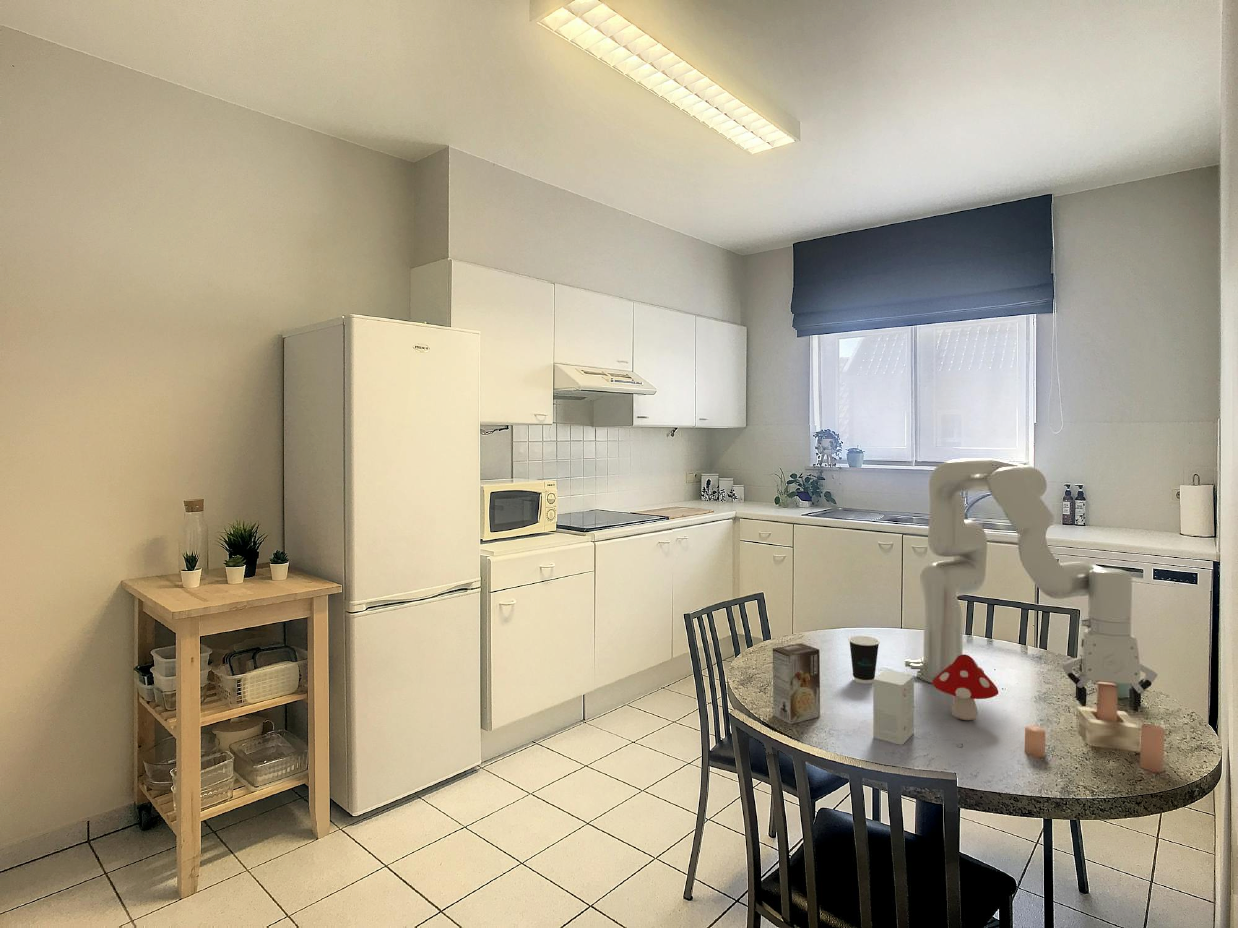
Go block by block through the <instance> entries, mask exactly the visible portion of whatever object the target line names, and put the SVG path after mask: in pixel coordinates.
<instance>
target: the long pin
mask: <svg viewBox="0 0 1238 928" xmlns="http://www.w3.org/2000/svg"><path fill="white" fill-rule="evenodd" d="M1117 696H1118V686H1117V685H1116V684H1114V683H1108V682H1097V685H1096V709H1097V715H1096V719H1097V720H1103V721H1113V722H1117V711H1118V698H1117Z"/></svg>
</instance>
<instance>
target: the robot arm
mask: <svg viewBox="0 0 1238 928" xmlns="http://www.w3.org/2000/svg"><path fill="white" fill-rule="evenodd" d="M928 482H929V483H928V489H929V490H928V492H929V513H928V514H929V516H928V536H927V537H928V538H927V542H928V543H927V544H928V549H929V551H930V552H931V553H932V554H933V555H935V556H937V557H942V558H949V557H951V558H953V559H952V560H951V559H949V560H942V561H941V560H939V561H934V562H932V563H929V564H928V565H926V566H925V567H924V568H922V571H921V572H920V576H919V577H920V578H919V583H920V584H919V585H920V589H921V592H922V600H923V602H922V603H923V656H921V659H917V660H913V659H904V667H907V668H910V670H916V674H917V677H918V678H919V679H920V680H922V681H924V682H927V683H929V684H932V681H933V679H934V678H935V677H936V676H937V675H938V674H939V673H941V672H942V671H943V670H944V669H946V668H947V667H948V666H949V665H950V664H951V661H952V660H953V659H954V658H955V657H958V656H960V655H963V643H964V641H963V640H964V637H963V635H964V633H963V632H964V631H963V629H964V616H963V609H962V607H961V605H960V603H959V599H958V597H960V596H966V595H971V594H975V593H978V592H979V591H980V590H981V589H982V588H983V586H984V583H985V580H986V572H987V554H988V553H987V552H988V537H987V535H986V532H985V530H984V528H983V527H982V525H980V524H979V523H978V522H976V521H974V520H971V519H965V517H966V516H965V515H966V505H965V502H964V498H963V496H962V495H961V494H962V493H968V492H987V491H988V492H989V493H990V495H991V496H992V498H993V500H995V501H994V502H996V503H997V505H998V506H999V508H1000V509H1001V511H1002V512H1003V514H1004V516H1005V517H1006V518H1007V520H1008V522H1010V524H1011V526H1012V527H1013V528H1014V531H1015V532H1016V534H1017V548H1018V549H1017V550H1018V555H1019V558H1020V562H1021V564H1022V566H1023V568H1024V570H1025V572H1026V573H1027V575H1028V576H1029V577H1030V579H1031V581H1032V582H1033V583H1034V585H1035V586H1036V587H1037V588H1038V589H1039V591H1041V592H1042V593H1043V594H1044V595H1045V596H1047V597H1049V598H1051V599H1054V600H1062V599H1071V598H1076V597H1077V598H1078V597H1085V596H1086V597H1087V601H1088V602H1087V615H1086V618H1085V619H1080V620H1079V625H1080V626H1081V627H1084V628H1087V629H1084V631H1083V633H1082V638H1081V643H1080V647H1079V648H1080V649H1079V655H1078V657H1074V658H1071V659H1070V660H1067V661H1064V662H1062V663H1061V664H1060V666H1061V668H1062V669H1063V671H1064V672H1065V675H1066V676H1067V677H1068V679H1070V681H1071V682H1073V683H1074V684H1075V701H1078V703H1079V705H1080V706H1081V707H1086V706H1087V688H1086V687H1085V685H1087V684H1088V683H1089V682H1090V681H1093V682H1096V681H1098V682H1108V683H1119V684H1130V685H1131V686H1132V688H1130V689H1129V696H1128V707H1129V708H1130V709H1131V710H1132V711H1133V712H1134V713H1138V712H1139V708H1141V705H1142V694H1144V691H1145V690H1147V689H1148V688H1150V687H1151V686H1152V683H1153V682H1154V681H1155V680H1156V679H1157V677H1158V673H1157V672H1156V671H1154V670H1153V669H1150V668H1148V667H1147V666H1145V665H1144V664H1142V663H1140V654H1139V647H1138V641H1137V638H1136V636H1135V634H1132V604H1133V602H1132V599H1133V595H1132V594H1133V590H1132V589H1133V577H1132V575H1131V574H1130V572H1128V571H1127V570H1123V569H1120V568H1112V567H1103V566H1099V565H1096V564H1092V563H1090V562H1085V561H1072V562H1061V563H1060V562H1058V559H1056V557H1055V556H1054V554H1053V553H1052V550H1050V547H1049V545H1048V542H1047V537H1046V536H1047V531H1048V529H1049V528H1050V527H1051V526H1052V525H1053V523H1054V522H1055V521H1054V520H1055V516H1054V514H1053V513H1052V511H1051V510H1050V509H1049V507H1048V506H1047V504H1046V503H1045V502H1044V501H1043V499H1042V498H1041V497H1042V496H1043V495H1045V493H1046V491H1047V486H1048V485H1047V484H1048V483H1047V480H1046V477H1045V475H1044V474H1043V473H1042V472H1041V471H1040V470H1039V469H1037V468H1035V467H1033V466H1031V465H1025V464H1020V463H1015V462H1009V461H1005V460H1001V459H995V458H958V459H951V460H947V461H945V462H943V463H940V464H938V465H937V466H936V467H935V468H934V469H933V471H932V473H931V475H930V477H929V481H928ZM1075 667H1078V670H1079V672H1080V673H1078V674H1077V675H1075V674H1074V672H1073V670H1072V669H1073V668H1075ZM1141 672H1142V673H1144V674H1145V676H1144V678H1142V679H1141Z"/></svg>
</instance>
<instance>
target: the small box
mask: <svg viewBox="0 0 1238 928" xmlns="http://www.w3.org/2000/svg"><path fill="white" fill-rule="evenodd" d="M872 685H873V686H872V687H873V688H872V690H873V693H872V694H873V695H872V699H873V705H872V706H873V707H872V708H873V713H872V714H873V715H872V716H873V717H872V718H873V719H872V720H873V729H872V730H873V732H872V733H873V734H872V736H873V738H874V739H877V740H881V741H885V742H889V743H891V744H896V745H899V746H903V745H904V744H905V743H906V742H907V741H908V740H909V739H910V738H911V737H912V735H913V734H914V733H915V730H914V729H915V716H914V715H915V707H914V706H915V675H913V674H909V673H905V672H901V671H896V670H889V669H885V670H884V671H882V672H880V674H878V675H877V676H875V678H874V679H873V683H872Z"/></svg>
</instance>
